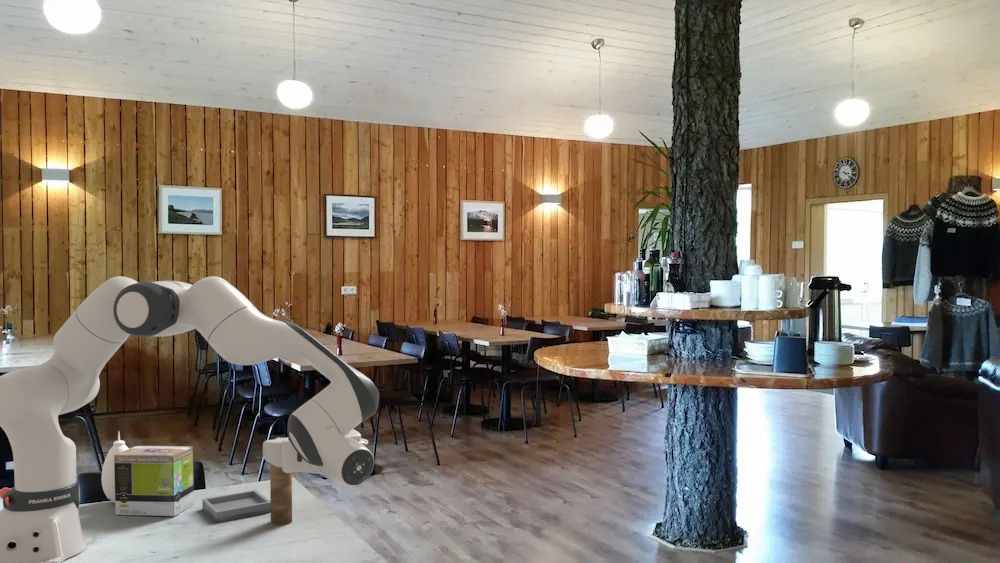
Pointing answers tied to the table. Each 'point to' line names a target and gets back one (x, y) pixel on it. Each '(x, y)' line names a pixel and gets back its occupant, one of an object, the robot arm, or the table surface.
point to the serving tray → (236, 506)
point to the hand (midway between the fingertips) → (300, 438)
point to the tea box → (154, 480)
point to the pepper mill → (280, 496)
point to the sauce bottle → (111, 468)
